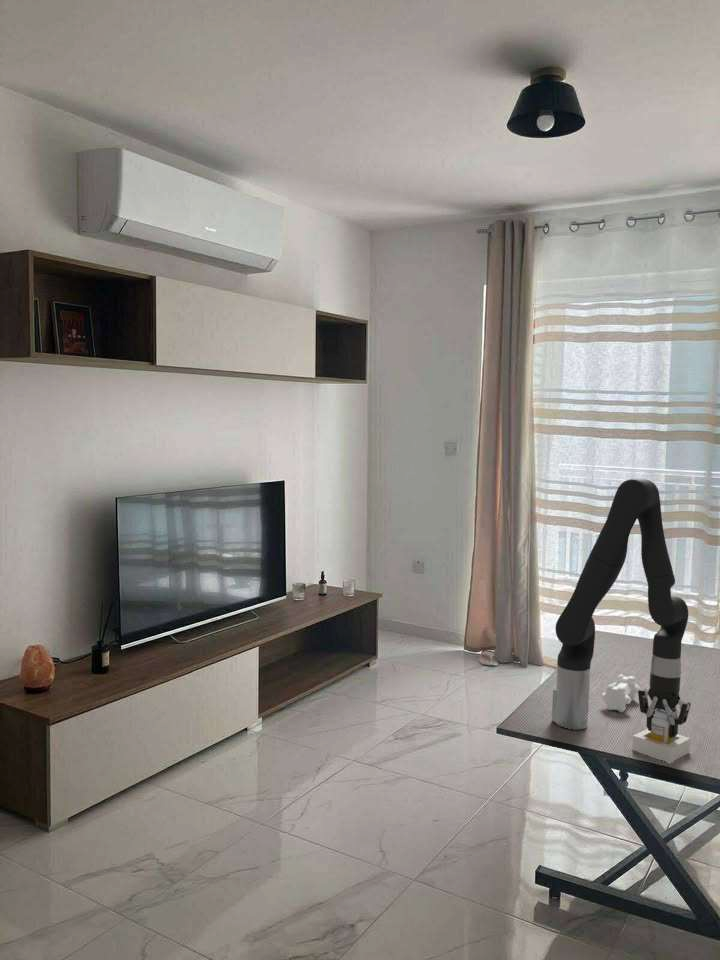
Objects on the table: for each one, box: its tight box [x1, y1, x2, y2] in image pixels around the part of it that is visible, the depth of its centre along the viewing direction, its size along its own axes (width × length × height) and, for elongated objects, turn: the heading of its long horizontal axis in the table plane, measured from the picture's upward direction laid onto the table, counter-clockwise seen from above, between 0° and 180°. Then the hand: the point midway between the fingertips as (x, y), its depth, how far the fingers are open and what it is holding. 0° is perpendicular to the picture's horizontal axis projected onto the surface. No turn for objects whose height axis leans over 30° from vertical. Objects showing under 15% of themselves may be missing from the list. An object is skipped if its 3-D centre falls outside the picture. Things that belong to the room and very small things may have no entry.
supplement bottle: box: [651, 709, 672, 745], centre depth 213 cm, size 5×5×10 cm
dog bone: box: [600, 673, 642, 713], centre depth 247 cm, size 15×9×8 cm, turn 147°
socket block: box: [631, 728, 691, 763], centre depth 213 cm, size 11×11×4 cm
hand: (661, 733), depth 213 cm, fingers closed on supplement bottle, 5 cm apart
